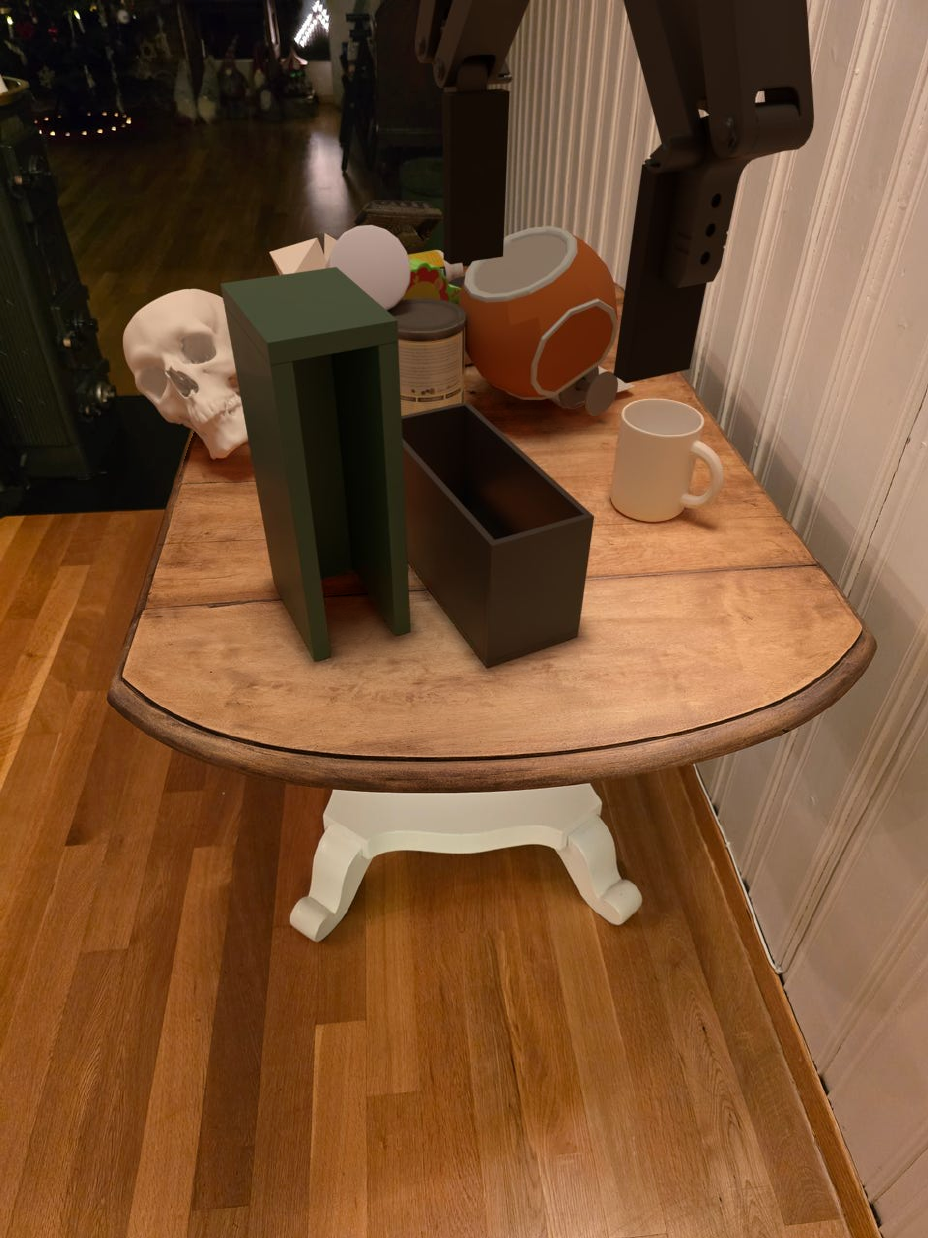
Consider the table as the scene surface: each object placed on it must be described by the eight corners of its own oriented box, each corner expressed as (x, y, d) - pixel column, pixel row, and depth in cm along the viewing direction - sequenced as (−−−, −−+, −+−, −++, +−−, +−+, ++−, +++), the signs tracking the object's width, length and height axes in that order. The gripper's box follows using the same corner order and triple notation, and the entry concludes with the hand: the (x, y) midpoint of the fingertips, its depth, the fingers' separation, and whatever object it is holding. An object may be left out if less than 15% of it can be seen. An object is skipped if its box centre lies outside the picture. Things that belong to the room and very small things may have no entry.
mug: (730, 515, 88) (753, 427, 82) (690, 548, 84) (711, 458, 77) (635, 475, 94) (650, 390, 88) (593, 503, 90) (605, 416, 83)
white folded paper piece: (366, 306, 107) (373, 180, 119) (251, 301, 105) (270, 174, 118) (370, 408, 123) (376, 288, 135) (271, 404, 122) (286, 284, 134)
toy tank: (389, 257, 149) (421, 302, 149) (282, 262, 127) (320, 315, 127) (436, 198, 140) (470, 246, 140) (330, 192, 118) (370, 249, 118)
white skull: (174, 485, 88) (72, 335, 87) (250, 485, 108) (168, 362, 107) (272, 410, 85) (167, 254, 84) (333, 424, 105) (248, 297, 104)
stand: (411, 631, 73) (397, 319, 55) (314, 662, 70) (267, 342, 52) (362, 559, 81) (336, 266, 63) (273, 584, 78) (220, 283, 60)
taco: (453, 350, 120) (454, 240, 110) (481, 361, 117) (483, 249, 107) (371, 383, 111) (363, 266, 101) (398, 396, 109) (393, 277, 99)
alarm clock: (495, 345, 86) (408, 258, 93) (519, 442, 102) (443, 361, 109) (640, 244, 87) (543, 166, 95) (641, 355, 103) (558, 281, 111)
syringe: (628, 378, 103) (475, 308, 120) (603, 359, 98) (447, 288, 115) (601, 426, 105) (454, 350, 122) (574, 409, 99) (425, 332, 117)
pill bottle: (402, 262, 130) (465, 250, 134) (384, 253, 134) (446, 242, 139) (405, 304, 134) (466, 291, 138) (387, 294, 138) (448, 282, 143)
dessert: (509, 381, 112) (510, 346, 109) (578, 362, 117) (581, 328, 114) (563, 415, 105) (566, 380, 102) (634, 394, 110) (639, 359, 107)
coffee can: (365, 425, 102) (357, 311, 93) (428, 400, 108) (426, 290, 98) (418, 456, 97) (415, 338, 87) (482, 428, 102) (485, 315, 93)
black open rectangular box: (578, 636, 73) (594, 516, 65) (486, 668, 70) (491, 545, 62) (465, 512, 88) (467, 401, 80) (386, 533, 85) (379, 420, 77)
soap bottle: (352, 327, 91) (339, 334, 114) (425, 290, 92) (397, 305, 115) (313, 247, 88) (307, 271, 111) (388, 209, 89) (367, 241, 112)
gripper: (1316, -892, 12) (855, 419, 26) (505, -431, 29) (487, 216, 43) (973, -1117, 10) (664, 472, 23) (301, -468, 26) (352, 234, 40)
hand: (550, 308), depth 33 cm, fingers open, 13 cm apart
